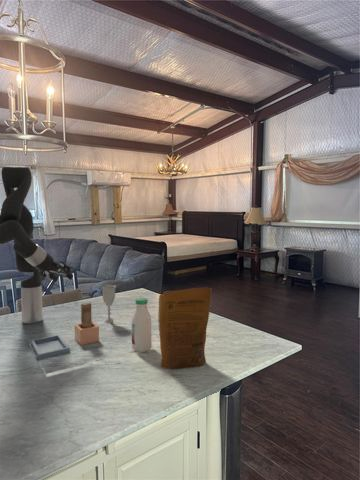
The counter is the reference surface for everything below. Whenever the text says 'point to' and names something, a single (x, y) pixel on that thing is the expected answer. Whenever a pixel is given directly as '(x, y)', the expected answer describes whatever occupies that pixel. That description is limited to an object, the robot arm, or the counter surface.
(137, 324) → the milk bottle
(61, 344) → the slate tray
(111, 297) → the chalice
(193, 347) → the pancake mix bag
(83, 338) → the terracotta cup
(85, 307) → the walnut dowel
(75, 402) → the counter surface
